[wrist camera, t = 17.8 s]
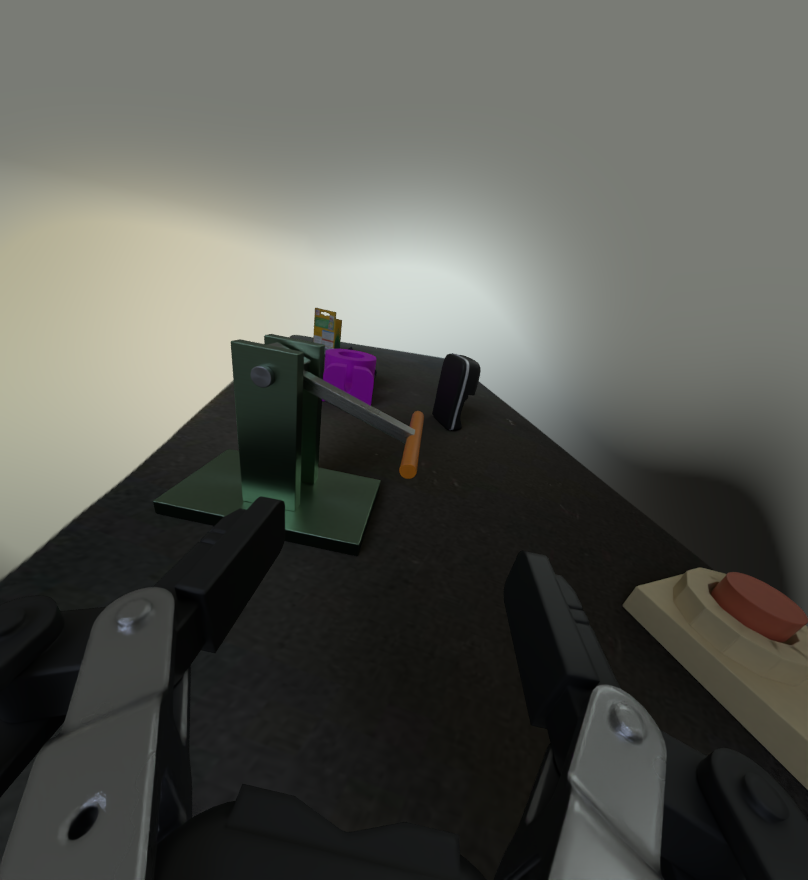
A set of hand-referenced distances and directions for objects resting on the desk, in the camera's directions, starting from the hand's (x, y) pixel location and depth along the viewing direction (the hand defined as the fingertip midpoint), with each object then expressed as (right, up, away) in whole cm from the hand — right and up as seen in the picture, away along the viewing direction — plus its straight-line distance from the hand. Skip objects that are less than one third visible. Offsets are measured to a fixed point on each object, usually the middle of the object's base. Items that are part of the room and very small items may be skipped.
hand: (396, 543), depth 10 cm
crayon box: (-22, +28, +75) cm, 83 cm away
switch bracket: (-11, -2, +17) cm, 20 cm away
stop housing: (+22, -11, +10) cm, 27 cm away
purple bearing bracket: (-11, +13, +49) cm, 52 cm away
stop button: (+22, -8, +9) cm, 26 cm away
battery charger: (+8, +6, +42) cm, 43 cm away
